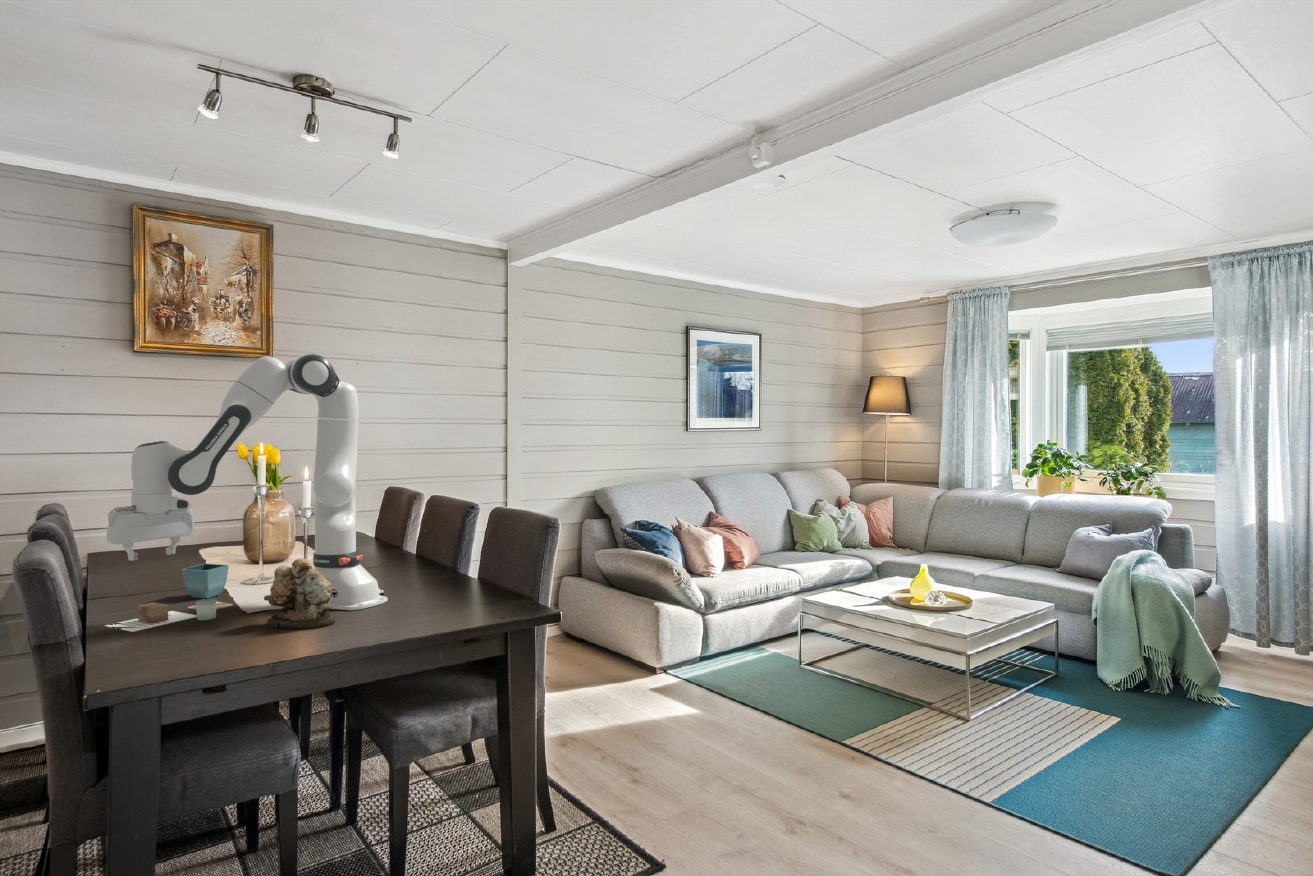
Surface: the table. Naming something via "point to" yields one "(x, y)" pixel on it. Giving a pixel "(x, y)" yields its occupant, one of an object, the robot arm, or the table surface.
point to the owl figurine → (300, 597)
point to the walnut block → (153, 613)
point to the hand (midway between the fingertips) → (152, 557)
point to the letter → (139, 625)
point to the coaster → (218, 605)
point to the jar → (206, 609)
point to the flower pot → (205, 579)
